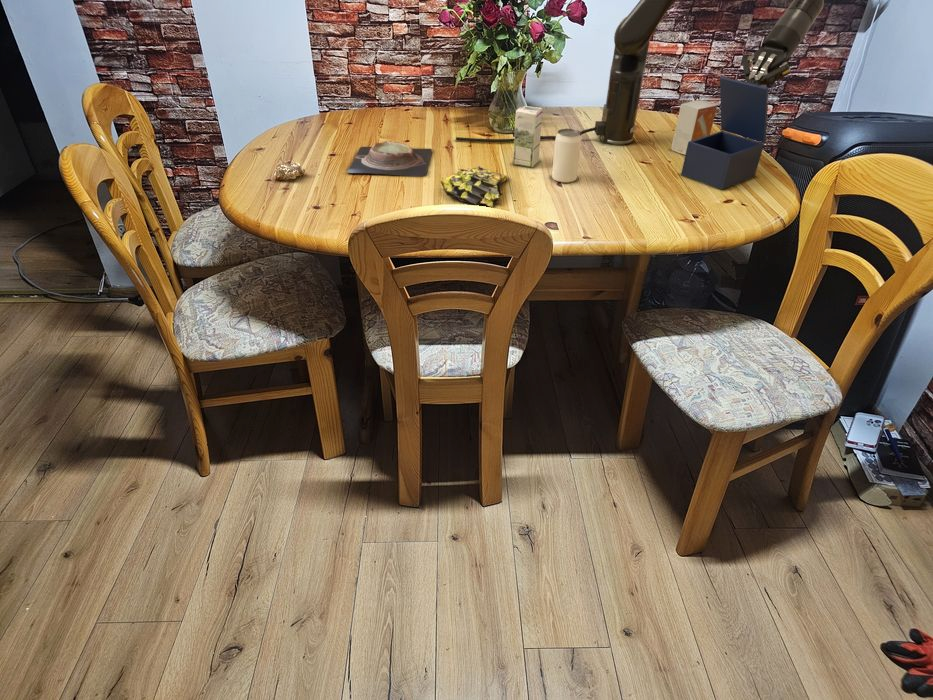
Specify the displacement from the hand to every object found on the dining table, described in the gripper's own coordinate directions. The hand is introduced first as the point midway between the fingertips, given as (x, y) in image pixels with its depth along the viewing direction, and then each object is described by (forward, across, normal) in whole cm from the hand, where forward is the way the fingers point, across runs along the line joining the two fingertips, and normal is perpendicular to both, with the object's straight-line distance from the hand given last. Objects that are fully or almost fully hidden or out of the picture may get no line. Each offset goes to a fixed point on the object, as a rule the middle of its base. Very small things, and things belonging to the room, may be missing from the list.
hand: (744, 95), depth 153 cm
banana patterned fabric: (+56, -31, -27) cm, 69 cm away
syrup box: (+41, -37, -12) cm, 57 cm away
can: (+40, -23, -12) cm, 48 cm away
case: (+16, 0, +12) cm, 20 cm away
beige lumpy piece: (+80, -66, -52) cm, 116 cm away
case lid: (+2, 0, +3) cm, 4 cm away
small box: (+9, -16, +19) cm, 27 cm away
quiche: (+61, -60, -33) cm, 92 cm away
